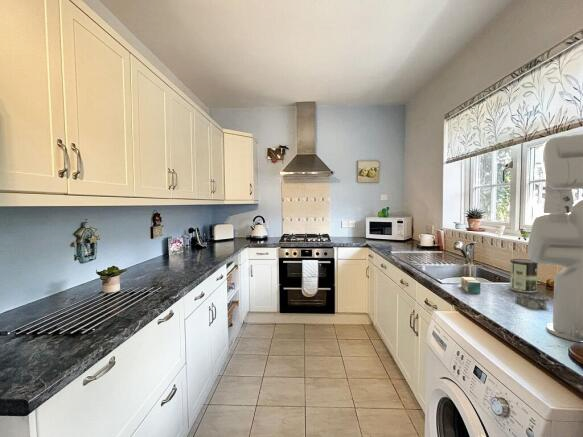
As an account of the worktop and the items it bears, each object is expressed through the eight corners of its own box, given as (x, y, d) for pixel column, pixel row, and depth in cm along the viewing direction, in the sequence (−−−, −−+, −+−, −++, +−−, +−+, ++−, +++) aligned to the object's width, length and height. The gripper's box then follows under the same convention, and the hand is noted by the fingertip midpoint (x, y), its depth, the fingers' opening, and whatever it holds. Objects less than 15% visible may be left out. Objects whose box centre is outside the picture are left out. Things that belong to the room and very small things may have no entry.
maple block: (480, 282, 134) (472, 277, 143) (468, 282, 135) (461, 276, 144) (480, 293, 134) (472, 287, 144) (468, 292, 135) (461, 286, 145)
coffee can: (534, 288, 140) (535, 259, 140) (539, 294, 132) (540, 263, 131) (508, 285, 146) (509, 257, 145) (510, 290, 137) (511, 261, 136)
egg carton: (550, 309, 113) (550, 299, 113) (530, 309, 114) (531, 299, 114) (529, 300, 124) (529, 291, 124) (511, 300, 124) (511, 291, 124)
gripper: (584, 187, 102) (582, 238, 103) (557, 189, 117) (555, 234, 118) (559, 188, 104) (557, 238, 105) (535, 189, 119) (534, 234, 120)
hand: (556, 236), depth 111 cm, fingers closed
